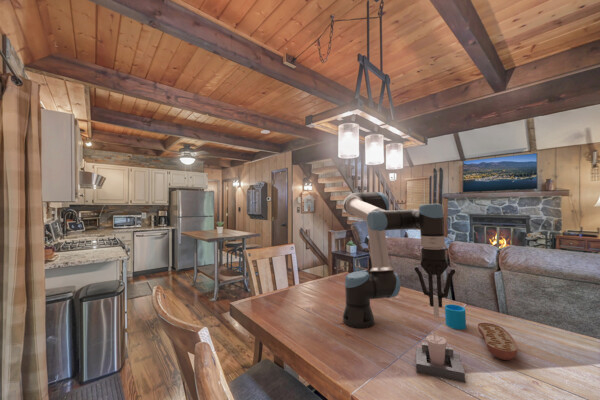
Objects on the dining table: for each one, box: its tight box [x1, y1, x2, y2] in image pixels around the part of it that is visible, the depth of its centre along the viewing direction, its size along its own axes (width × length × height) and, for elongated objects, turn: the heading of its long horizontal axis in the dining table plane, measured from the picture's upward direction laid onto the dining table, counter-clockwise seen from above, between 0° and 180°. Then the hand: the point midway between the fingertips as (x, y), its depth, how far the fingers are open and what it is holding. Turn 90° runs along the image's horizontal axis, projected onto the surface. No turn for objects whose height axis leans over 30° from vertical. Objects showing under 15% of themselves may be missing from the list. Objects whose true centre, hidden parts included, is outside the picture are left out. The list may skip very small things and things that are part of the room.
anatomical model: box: [477, 322, 518, 361], centre depth 100 cm, size 23×10×5 cm, turn 155°
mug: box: [444, 304, 467, 330], centre depth 121 cm, size 12×8×8 cm
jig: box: [415, 342, 466, 384], centre depth 89 cm, size 14×11×5 cm
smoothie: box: [425, 326, 448, 366], centre depth 89 cm, size 6×6×14 cm
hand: (436, 316), depth 89 cm, fingers closed
